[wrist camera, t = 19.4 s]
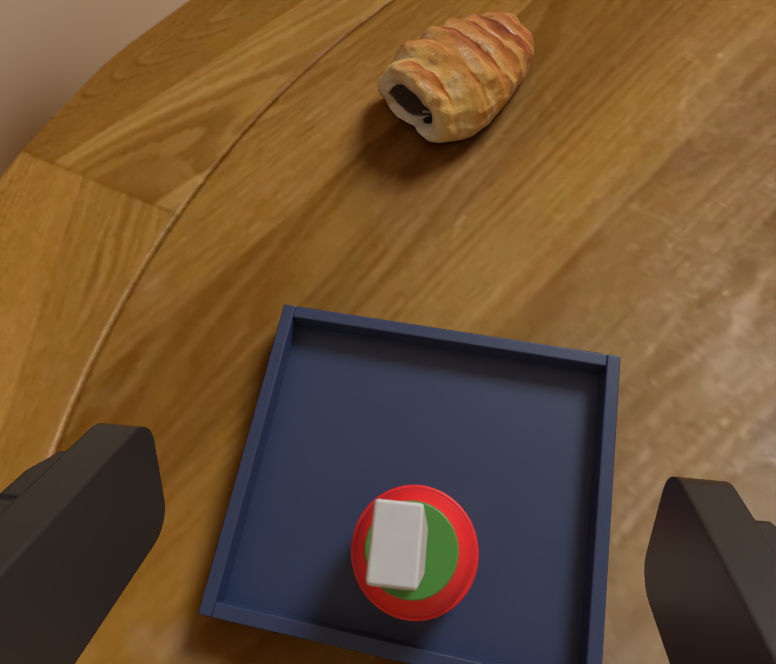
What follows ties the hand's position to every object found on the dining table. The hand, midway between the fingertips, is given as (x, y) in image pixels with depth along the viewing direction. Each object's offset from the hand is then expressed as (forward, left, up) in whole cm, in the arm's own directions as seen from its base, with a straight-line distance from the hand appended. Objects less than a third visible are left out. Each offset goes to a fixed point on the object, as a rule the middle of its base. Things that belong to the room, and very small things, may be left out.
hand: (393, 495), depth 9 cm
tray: (0, +2, -18) cm, 18 cm away
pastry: (-2, +25, -19) cm, 31 cm away
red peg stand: (0, -1, -18) cm, 18 cm away
